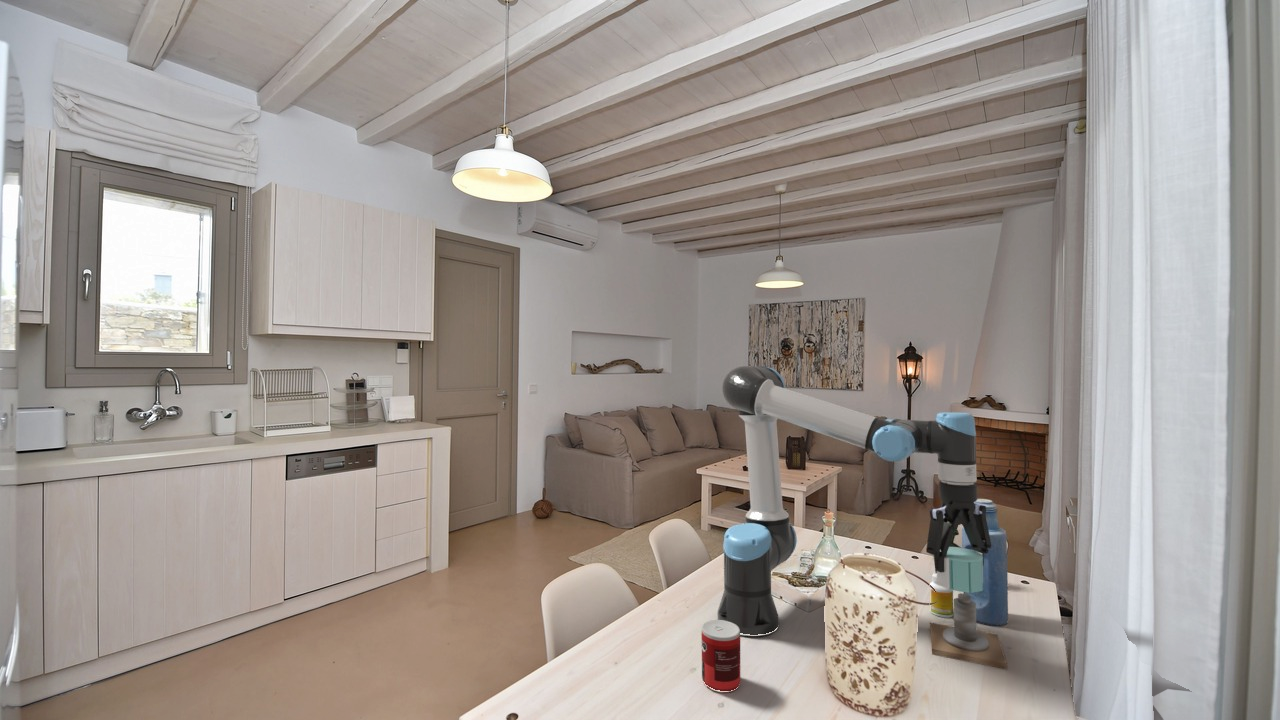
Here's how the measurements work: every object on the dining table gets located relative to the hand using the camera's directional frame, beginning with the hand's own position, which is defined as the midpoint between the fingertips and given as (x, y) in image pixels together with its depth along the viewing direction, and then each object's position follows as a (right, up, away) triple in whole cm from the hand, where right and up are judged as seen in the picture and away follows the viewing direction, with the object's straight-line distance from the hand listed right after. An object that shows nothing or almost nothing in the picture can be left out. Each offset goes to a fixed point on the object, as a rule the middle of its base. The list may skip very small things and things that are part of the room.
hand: (960, 583), depth 121 cm
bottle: (+17, -16, +18) cm, 29 cm away
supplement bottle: (+7, -16, +20) cm, 27 cm away
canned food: (-55, -16, -10) cm, 58 cm away
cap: (0, 0, 0) cm, 0 cm away
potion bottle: (+21, -17, +42) cm, 49 cm away
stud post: (+3, -16, +3) cm, 17 cm away
